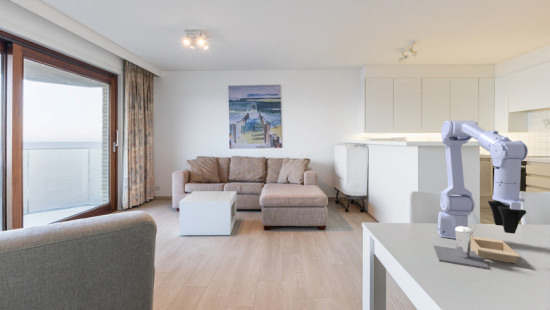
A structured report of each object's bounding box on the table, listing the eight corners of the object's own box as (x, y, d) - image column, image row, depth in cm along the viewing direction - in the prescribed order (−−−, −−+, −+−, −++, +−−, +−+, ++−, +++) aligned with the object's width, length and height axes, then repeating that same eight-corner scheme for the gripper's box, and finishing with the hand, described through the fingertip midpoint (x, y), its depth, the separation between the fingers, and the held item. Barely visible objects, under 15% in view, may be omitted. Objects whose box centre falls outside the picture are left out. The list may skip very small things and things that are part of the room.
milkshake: (471, 261, 77) (472, 228, 77) (451, 255, 82) (452, 223, 82) (478, 258, 80) (479, 225, 79) (458, 252, 84) (459, 221, 84)
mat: (439, 260, 79) (439, 259, 79) (433, 246, 90) (433, 245, 90) (489, 269, 74) (489, 267, 74) (477, 253, 85) (477, 251, 85)
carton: (480, 260, 80) (480, 250, 79) (468, 244, 92) (468, 235, 92) (519, 266, 76) (520, 256, 76) (501, 248, 89) (501, 240, 88)
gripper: (537, 187, 68) (534, 239, 69) (514, 180, 81) (512, 224, 82) (502, 185, 71) (500, 234, 72) (485, 179, 84) (483, 221, 85)
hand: (504, 228), depth 77 cm, fingers open, 7 cm apart
